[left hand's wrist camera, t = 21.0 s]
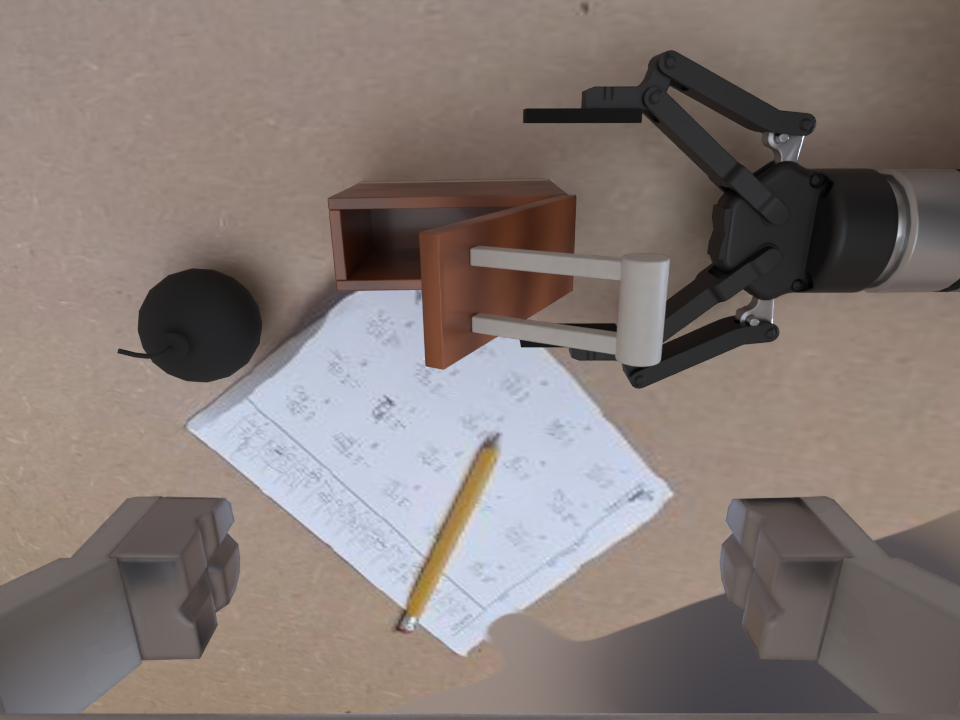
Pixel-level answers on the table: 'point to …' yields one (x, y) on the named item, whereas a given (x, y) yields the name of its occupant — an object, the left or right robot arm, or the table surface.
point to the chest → (410, 223)
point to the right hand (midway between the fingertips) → (521, 232)
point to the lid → (531, 286)
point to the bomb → (198, 325)
